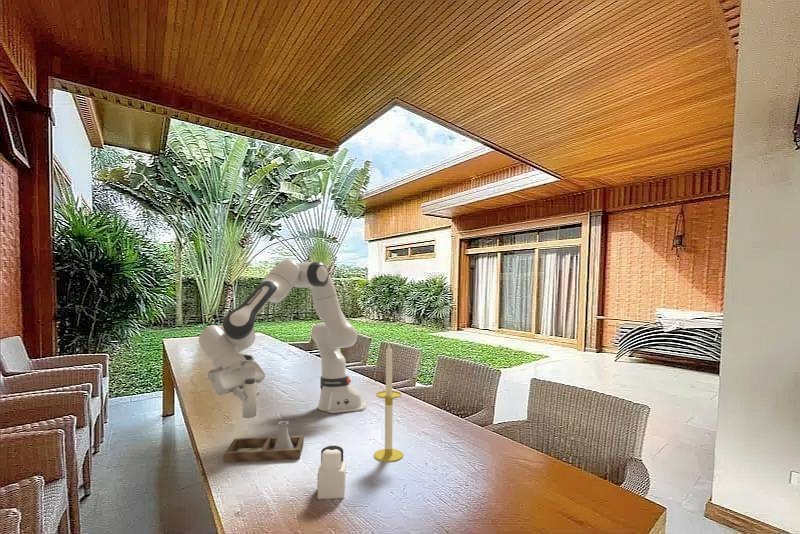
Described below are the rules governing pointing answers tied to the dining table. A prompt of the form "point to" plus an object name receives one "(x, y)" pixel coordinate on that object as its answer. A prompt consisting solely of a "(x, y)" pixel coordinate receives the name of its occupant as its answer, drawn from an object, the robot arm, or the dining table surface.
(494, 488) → the dining table surface
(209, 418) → the dining table surface
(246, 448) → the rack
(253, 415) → the white capped tube
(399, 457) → the candle
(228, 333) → the robot arm
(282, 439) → the flask
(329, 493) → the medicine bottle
